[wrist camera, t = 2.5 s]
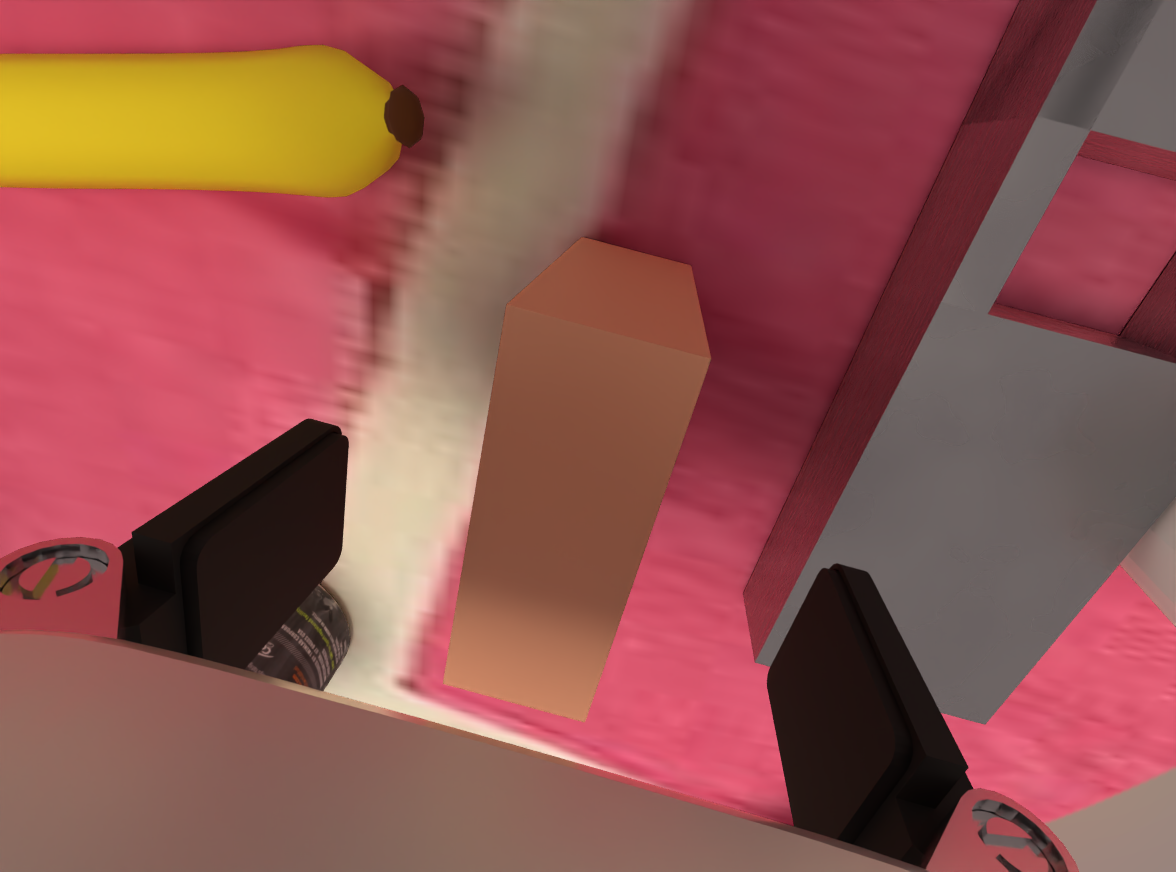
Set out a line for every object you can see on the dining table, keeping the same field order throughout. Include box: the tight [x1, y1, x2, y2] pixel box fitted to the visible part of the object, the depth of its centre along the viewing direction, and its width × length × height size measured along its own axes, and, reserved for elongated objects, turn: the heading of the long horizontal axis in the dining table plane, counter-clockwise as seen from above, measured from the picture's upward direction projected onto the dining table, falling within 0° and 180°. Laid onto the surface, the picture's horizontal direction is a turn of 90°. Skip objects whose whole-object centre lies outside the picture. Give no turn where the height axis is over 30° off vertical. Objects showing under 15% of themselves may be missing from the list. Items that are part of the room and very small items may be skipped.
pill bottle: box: [244, 585, 350, 691], centre depth 18 cm, size 6×6×11 cm
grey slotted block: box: [743, 0, 1176, 724], centre depth 13 cm, size 22×7×3 cm, turn 167°
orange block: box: [443, 237, 711, 722], centre depth 13 cm, size 8×3×8 cm, turn 167°
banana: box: [0, 45, 424, 197], centre depth 13 cm, size 3×19×6 cm, turn 89°
